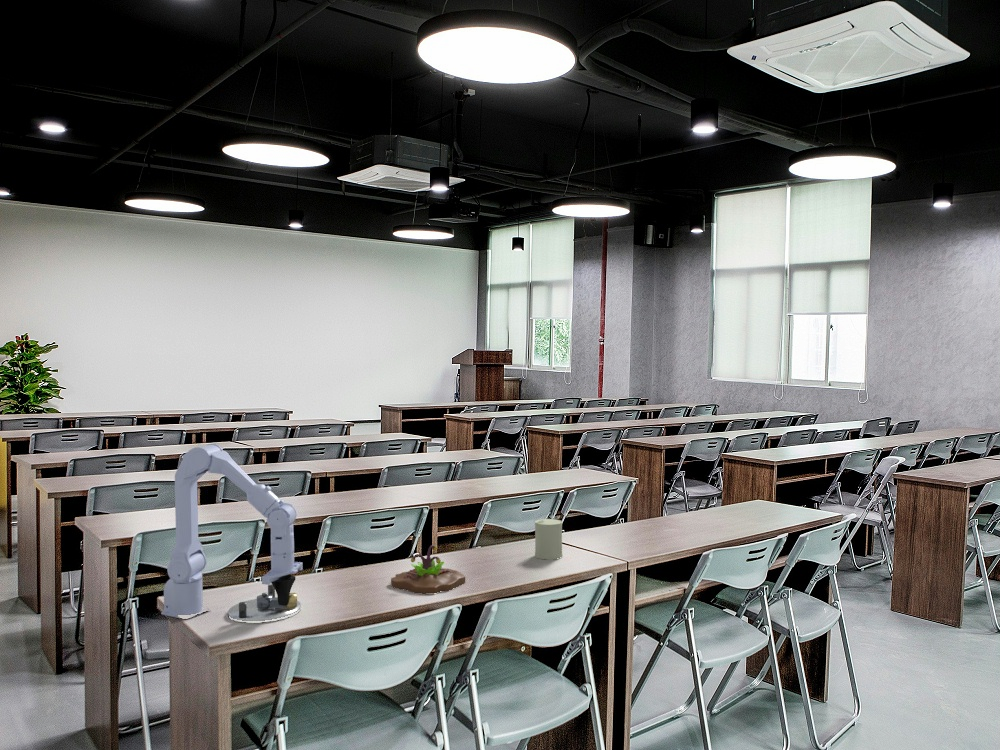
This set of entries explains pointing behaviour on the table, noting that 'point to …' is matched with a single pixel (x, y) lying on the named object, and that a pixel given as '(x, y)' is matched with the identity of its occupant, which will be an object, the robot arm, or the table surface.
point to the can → (548, 539)
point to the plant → (428, 576)
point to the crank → (276, 602)
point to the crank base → (259, 610)
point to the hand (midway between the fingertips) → (283, 604)
